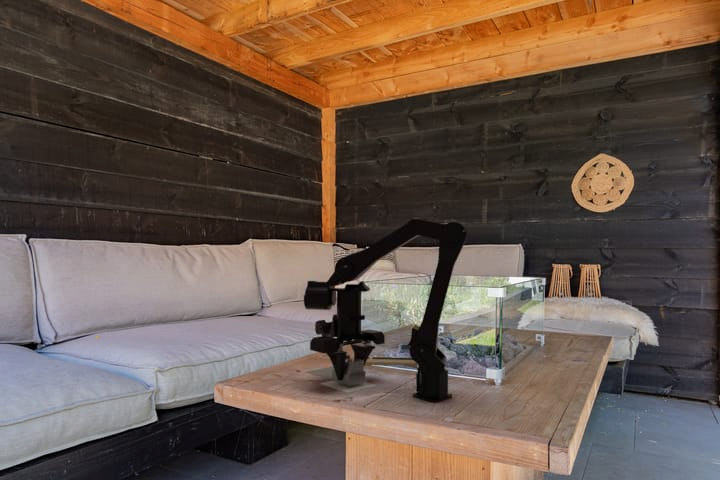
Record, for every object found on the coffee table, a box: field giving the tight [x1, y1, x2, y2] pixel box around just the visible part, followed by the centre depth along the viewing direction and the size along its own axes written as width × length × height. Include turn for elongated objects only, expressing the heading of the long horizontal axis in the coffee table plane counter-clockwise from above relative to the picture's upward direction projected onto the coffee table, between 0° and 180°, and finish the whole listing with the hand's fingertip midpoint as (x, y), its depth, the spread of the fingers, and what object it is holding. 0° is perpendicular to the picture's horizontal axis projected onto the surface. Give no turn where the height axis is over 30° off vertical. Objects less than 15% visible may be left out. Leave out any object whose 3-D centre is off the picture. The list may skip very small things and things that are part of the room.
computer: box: [364, 356, 419, 370], centre depth 134 cm, size 16×8×3 cm, turn 88°
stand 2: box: [319, 380, 378, 394], centre depth 111 cm, size 10×9×2 cm
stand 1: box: [306, 366, 334, 381], centre depth 121 cm, size 10×9×2 cm
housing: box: [331, 354, 366, 386], centre depth 111 cm, size 5×6×6 cm
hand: (348, 378), depth 111 cm, fingers closed on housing, 5 cm apart
